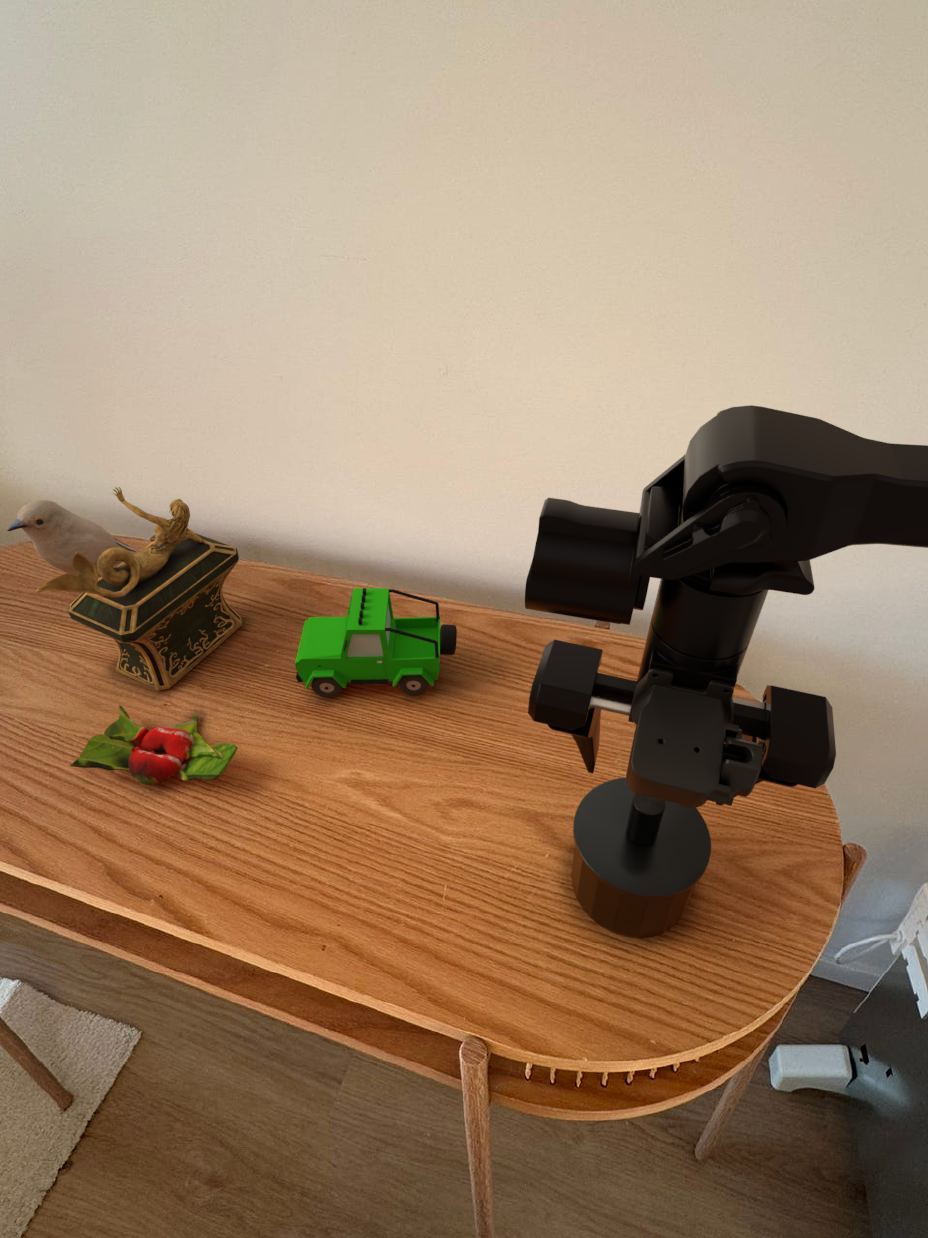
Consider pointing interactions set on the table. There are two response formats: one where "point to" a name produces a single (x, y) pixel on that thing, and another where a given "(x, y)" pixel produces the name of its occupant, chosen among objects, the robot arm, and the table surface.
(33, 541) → the bird
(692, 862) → the lid
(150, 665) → the decorative box
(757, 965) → the table surface
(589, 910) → the pot
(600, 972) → the table surface
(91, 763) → the decorative ornament
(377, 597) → the toy car
